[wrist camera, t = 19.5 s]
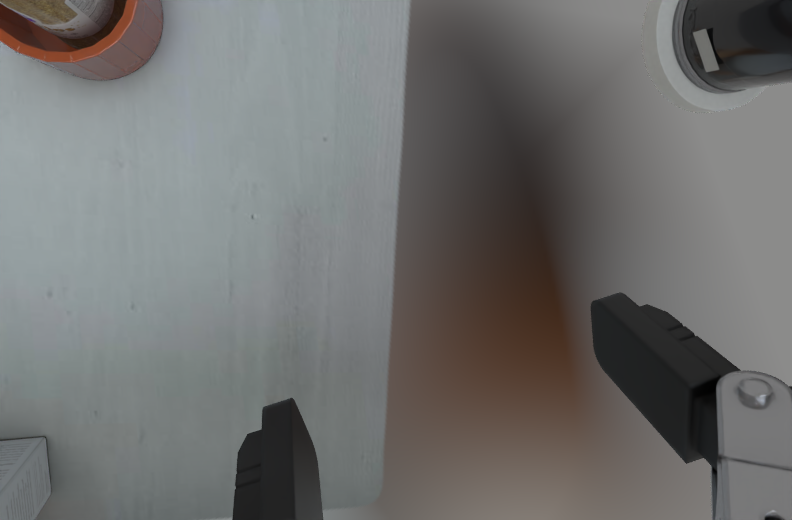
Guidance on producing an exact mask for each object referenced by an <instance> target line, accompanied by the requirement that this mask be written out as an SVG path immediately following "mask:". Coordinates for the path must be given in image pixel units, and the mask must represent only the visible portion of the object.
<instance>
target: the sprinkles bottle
mask: <svg viewBox="0 0 792 520" xmlns="http://www.w3.org/2000/svg"><path fill="white" fill-rule="evenodd" d="M126 1H127V0H0V3H1V4H3V5H4V6H6V7H7V8H9V9H11V10H13V11H14V12H16V13H18V14H19V15H21V16H23V17H24V18H26V19H28V20H29V21H31V22H33V23H34V24H36V25H37V26H39V27H41V28H42V29H44V30H46V31H48V32H50V33H52V34H54V35H56V36H57V37H58V38H59V39H60V40H61V41H63V42H64V43H66V44H68V45H69V46H71V47H73V48H76V49H83V48H87V47H90V46H93V45H94V44H96V43H97V42H99V41H100V40H102V39H103V38H105V37H106V36H107V35H109V34H110V33H111V32H112V30H113V29H114V27H115V26H116V25H117V23H118V22H119V20H120V19H121V17H122V16H123V13H124V9H125V5H126Z"/></svg>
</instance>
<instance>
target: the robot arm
mask: <svg viewBox="0 0 792 520" xmlns="http://www.w3.org/2000/svg"><path fill="white" fill-rule="evenodd" d="M672 41H673V48H674V53H675V56H676V59H677V62H678V64H679V66H680V68H681V70H682V71H683V73H684V74H685V76H686V77H687V78H688V79H689V80H690V81H691V82H692V83H693V84H694V85H696V86H697V87H699V88H700V89H702V90H704V91H707V92H710V93H715V94H727V93H733V92H739V91H743V90H746V89H750V88H757V87H763V86H771V85H777V84H784V83H791V82H792V0H679V1H678V4H677V7H676V10H675V13H674V18H673V25H672ZM591 319H592V333H593V346H594V351H595V355H596V358H597V360H598V362H599V364H600V366H601V367H602V369H603V370H604V371H605V373H606V374H607V375H608V376H609V377H610V378H611V379H612V381H613V382H614V383H615V384H616V385H617V386H618V387H619V388H620V390H621V391H622V392H623V393H624V394H625V395H626V396H627V397H628V399H629V400H630V401H631V402H632V403H633V404H634V405H635V406H636V408H637V409H638V410H639V411H640V412H641V413H642V414H643V415H644V417H645V418H646V419H647V420H648V421H649V422H650V423H651V424H652V425H653V427H654V428H655V429H656V430H657V431H658V432H659V433H660V434H661V436H662V437H663V438H664V439H665V440H666V441H667V442H668V443H669V445H670V446H671V447H672V448H673V449H674V450H675V451H676V453H677V454H678V455H679V456H680V457H681V458H682V459H683V460H684V462H685V463H686V464H687V463H689V462H693V461H695V460H698V459H701V458H705V459H706V460H707V461H708V462H709V464H710V465H711V509H712V510H711V512H712V520H792V387H790V386H788V385H786V384H785V383H784V382H782V381H781V380H779V379H777V378H775V377H773V376H771V375H768V374H765V373H761V372H756V371H741V370H740V369H738V368H737V367H736V366H734V365H733V364H732V363H731V362H729V361H728V360H727V359H726V358H724V357H723V356H722V355H721V354H719V353H718V352H717V351H716V350H714V349H713V348H712V347H711V346H709V345H708V344H707V343H706V342H704V341H703V340H702V339H700V338H699V337H698V336H695V335H694V333H693V332H692V331H690V330H689V329H688V328H687V327H683V325H682V323H680V322H679V321H678V320H677V319H675V318H674V317H673V316H672V315H670V314H669V313H668V312H666V311H663V310H660V309H658V308H655V307H653V306H650V305H644V306H640V307H639V306H638V305H637V304H636V303H634V302H633V301H632V300H631V299H630V298H628V297H627V296H626V295H625V294H623V293H616V294H613V295H611V296H607V297H604V298H601V299H598V300H595V301H593V302H592V304H591ZM235 486H236V489H235V496H234V508H233V520H323V512H322V502H321V491H320V480H319V470H318V461H317V456H316V452H315V448H314V445H313V442H312V440H311V437H310V435H309V433H308V430H307V428H306V426H305V423H304V421H303V419H302V416H301V414H300V412H299V409H298V407H297V405H296V403H295V401H294V399H293V398H290V399H287V400H283V401H280V402H277V403H274V404H271V405H268V406H265V407H263V411H262V430H259V431H256V432H252V433H249V434H247V436H246V438H245V440H244V442H243V444H242V446H241V448H240V450H239V452H238V458H237V474H236V483H235Z"/></svg>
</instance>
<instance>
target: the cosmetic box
mask: <svg viewBox="0 0 792 520" xmlns="http://www.w3.org/2000/svg"><path fill="white" fill-rule="evenodd" d="M50 495H51V483H50V475H49V467H48V457H47V447H46V439H45V437H39V438H28V439H17V440H6V441H0V520H35V518H36V517H37V515H38V514H39V512H40V511H41V509H42V507H43V506H44V504H45V503H46V501H47V500H48V498H49V497H50Z"/></svg>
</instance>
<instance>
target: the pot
mask: <svg viewBox="0 0 792 520" xmlns="http://www.w3.org/2000/svg"><path fill="white" fill-rule="evenodd" d="M162 29H163V11H162V5H161V1H160V0H127V1H126V5H125V9H124V13H123V16H122V17H121V19H120V20H119V22H118V23H117V25H116V26H115V27H114V29H113V30H112V32H111V33H110V34H109V35H107V36H106V37H105V38H103V39H102V40H100V41H99V42H97V43H96V44H94V45H93V46H90V47H87V48H83V49H76V48H73V47H71V46H69V45H68V44H66V43H64V42H63V41H61V40H60V39H59V38H58V37H57V36H56V35H54V34H52V33H50V32H48V31H46V30H44V29H42V28H41V27H39V26H37V25H36V24H34V23H33V22H31V21H29V20H28V19H26V18H24V17H23V16H21V15H19V14H18V13H16V12H14V11H13V10H11V9H9V8H7V7H6V6H4V5H3V4H1V3H0V41H1V42H3V43H4V44H6V45H7V46H9V47H10V48H12V49H13V50H15V51H16V52H18V53H20V54H23V55H25V56H27V57H30V58H32V59H34V60H37V61H39V62H41V63H44V64H46V65H49V66H51V67H53V68H56V69H58V70H60V71H63V72H66V73H69V74H72V75H74V76H77V77H81V78H85V79H91V80H111V79H116V78H120V77H123V76H126V75H128V74H130V73H132V72H134V71H136V70H137V69H139V68H140V67H141V66H143V65H144V64H145V63H146V62H147V61H148V60H149V59H150V57H151V56H152V55H153V53H154V51H155V50H156V48H157V46H158V43H159V41H160V38H161V34H162Z"/></svg>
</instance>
